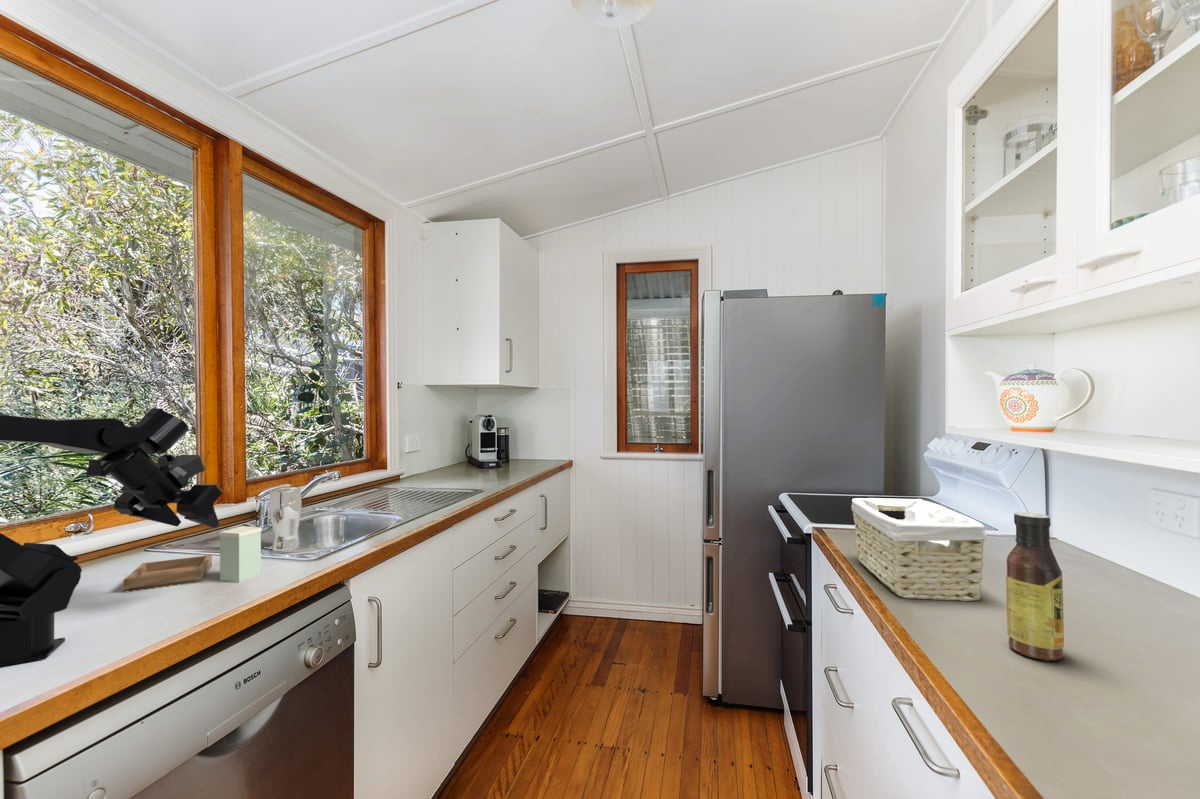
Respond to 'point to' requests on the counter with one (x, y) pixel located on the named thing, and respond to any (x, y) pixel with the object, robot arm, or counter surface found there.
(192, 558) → the tray
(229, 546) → the tea tin
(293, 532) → the beer glass
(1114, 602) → the counter surface
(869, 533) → the storage basket
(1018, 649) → the sauce bottle
